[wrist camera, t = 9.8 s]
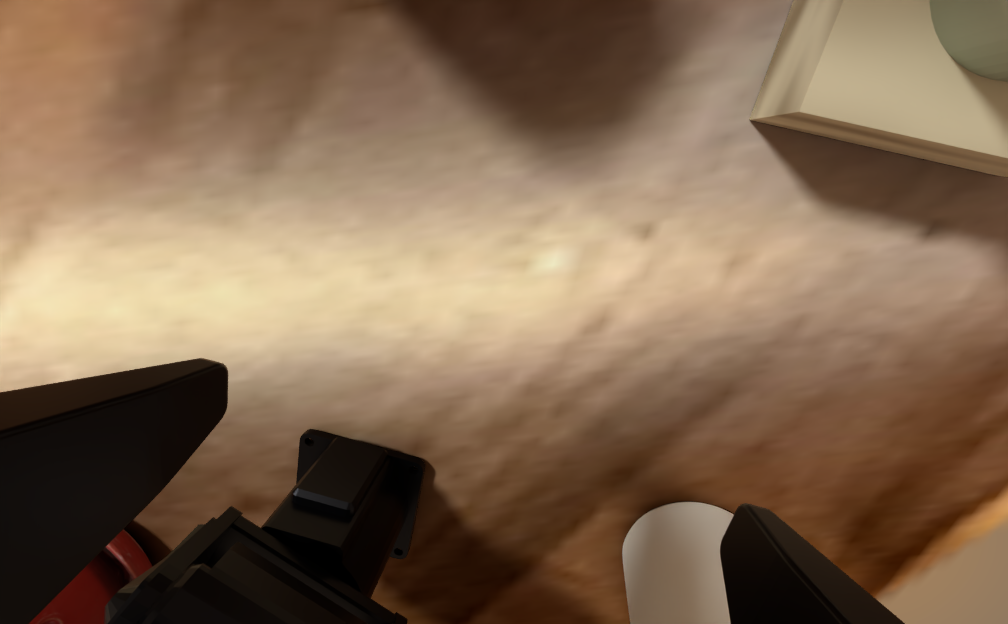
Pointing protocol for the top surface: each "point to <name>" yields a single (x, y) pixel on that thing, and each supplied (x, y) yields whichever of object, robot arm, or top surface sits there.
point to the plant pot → (97, 584)
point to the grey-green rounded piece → (974, 34)
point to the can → (677, 565)
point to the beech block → (883, 85)
